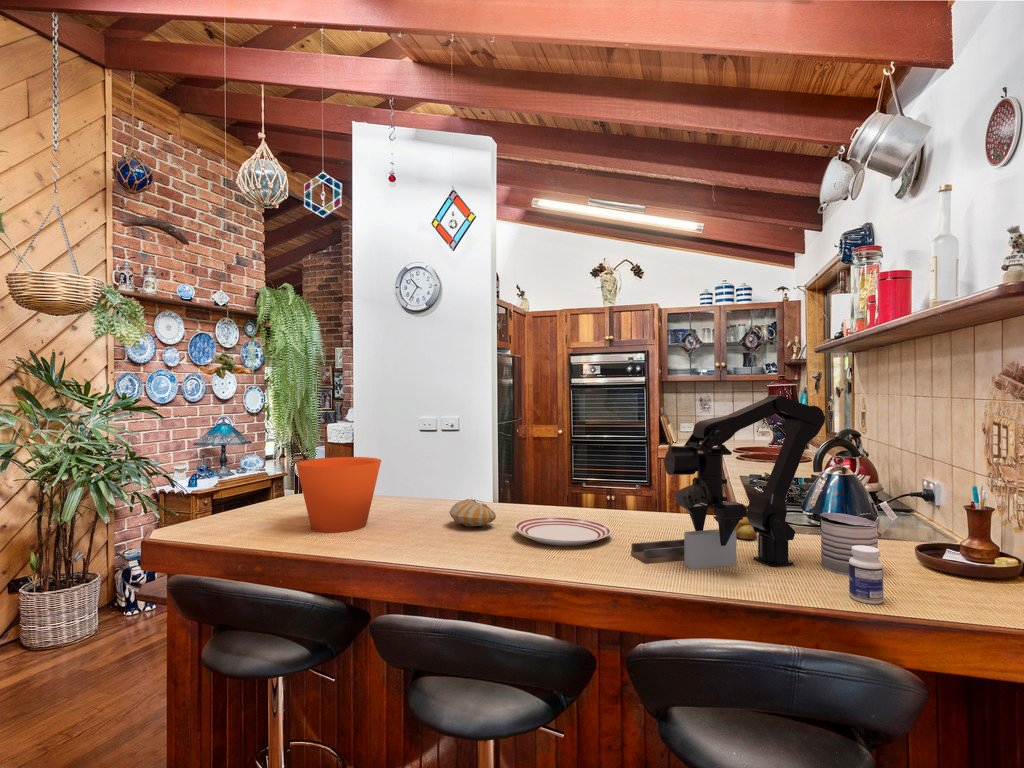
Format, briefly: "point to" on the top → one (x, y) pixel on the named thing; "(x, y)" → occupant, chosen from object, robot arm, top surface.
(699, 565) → the door panel
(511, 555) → the top surface
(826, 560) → the can
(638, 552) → the bottom track
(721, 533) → the robot arm
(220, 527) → the top surface
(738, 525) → the tan lumpy piece
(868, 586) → the pill bottle
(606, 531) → the dinner plate
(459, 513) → the striped ribbed shell
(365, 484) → the flowerpot
